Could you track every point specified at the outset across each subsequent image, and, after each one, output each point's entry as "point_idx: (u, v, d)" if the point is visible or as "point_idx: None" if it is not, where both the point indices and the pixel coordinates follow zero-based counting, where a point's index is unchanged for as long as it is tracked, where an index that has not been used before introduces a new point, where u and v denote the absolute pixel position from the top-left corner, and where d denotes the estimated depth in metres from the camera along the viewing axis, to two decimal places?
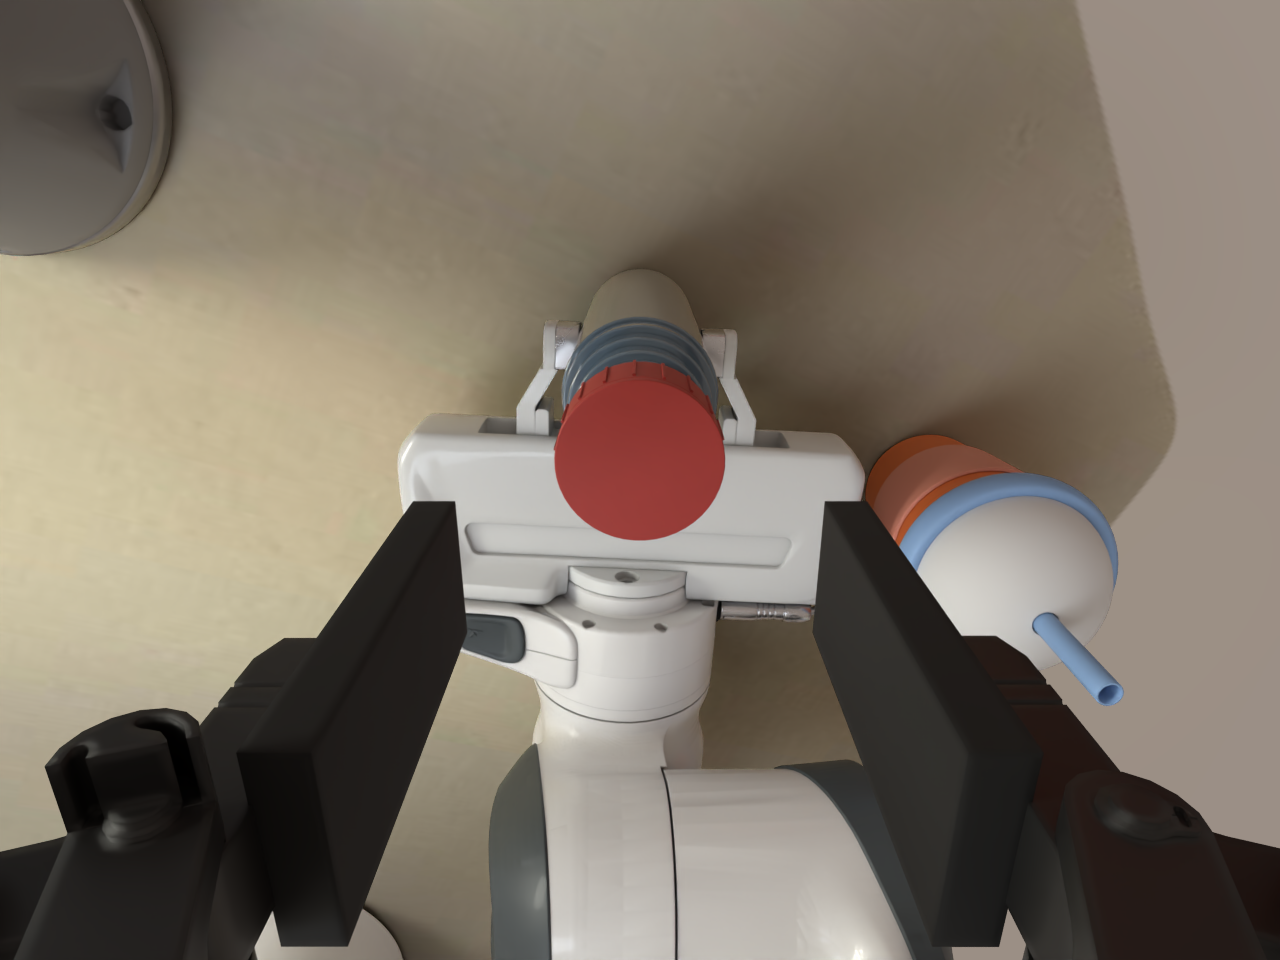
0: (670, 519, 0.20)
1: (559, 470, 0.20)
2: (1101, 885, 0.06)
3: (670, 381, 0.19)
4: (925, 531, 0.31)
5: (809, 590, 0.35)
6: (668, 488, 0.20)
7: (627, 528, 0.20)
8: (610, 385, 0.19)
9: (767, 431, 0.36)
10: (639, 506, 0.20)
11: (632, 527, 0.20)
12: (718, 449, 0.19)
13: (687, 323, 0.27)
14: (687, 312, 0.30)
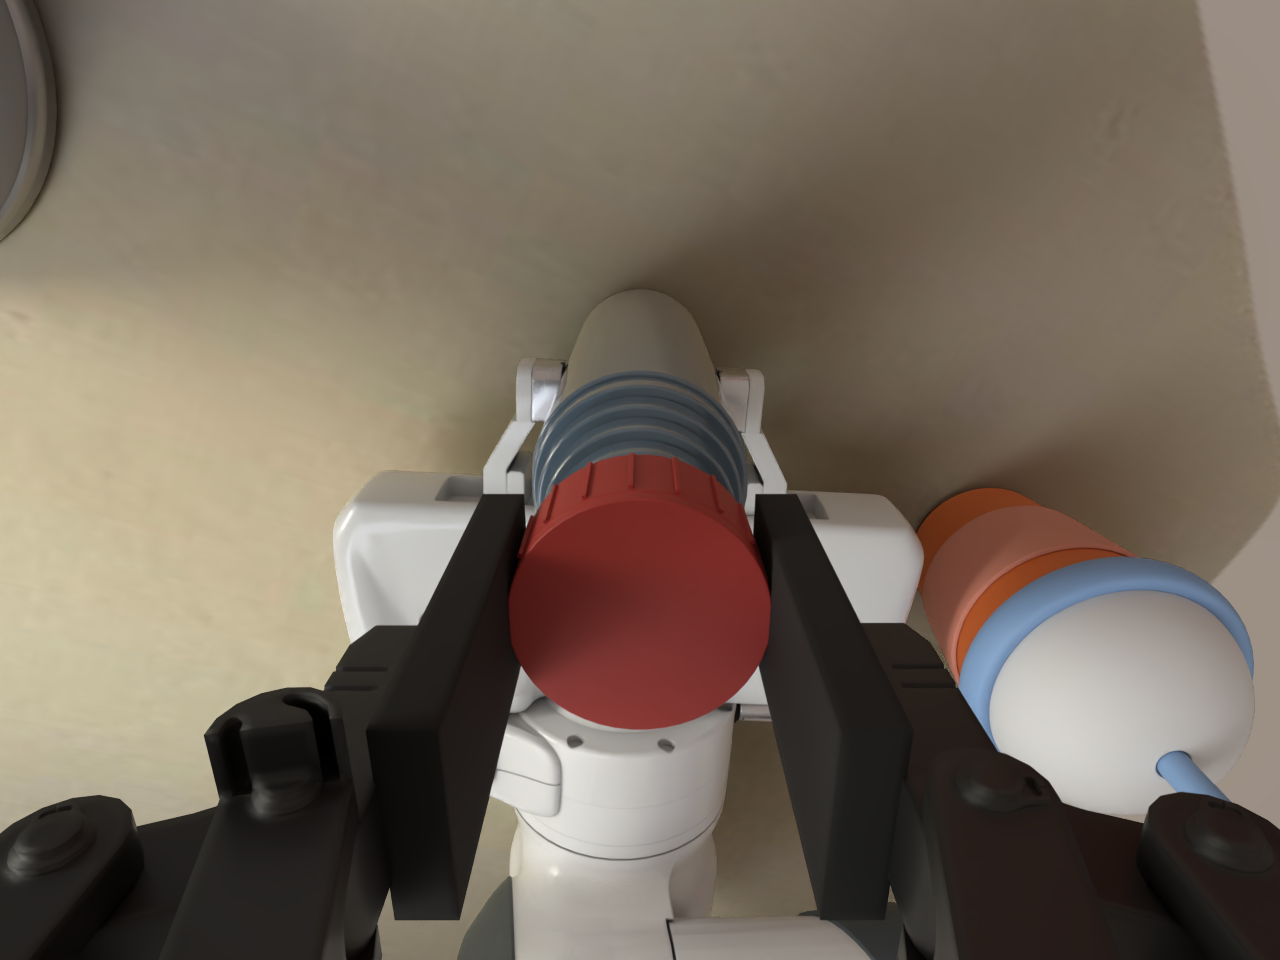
0: (686, 700, 0.13)
1: (515, 631, 0.13)
2: (959, 860, 0.07)
3: (687, 496, 0.12)
4: (1007, 633, 0.24)
5: None
6: (684, 656, 0.13)
7: (620, 712, 0.13)
8: (593, 506, 0.12)
9: (798, 493, 0.29)
10: (640, 682, 0.13)
11: (628, 711, 0.13)
12: (762, 601, 0.12)
13: (704, 373, 0.20)
14: (701, 352, 0.24)
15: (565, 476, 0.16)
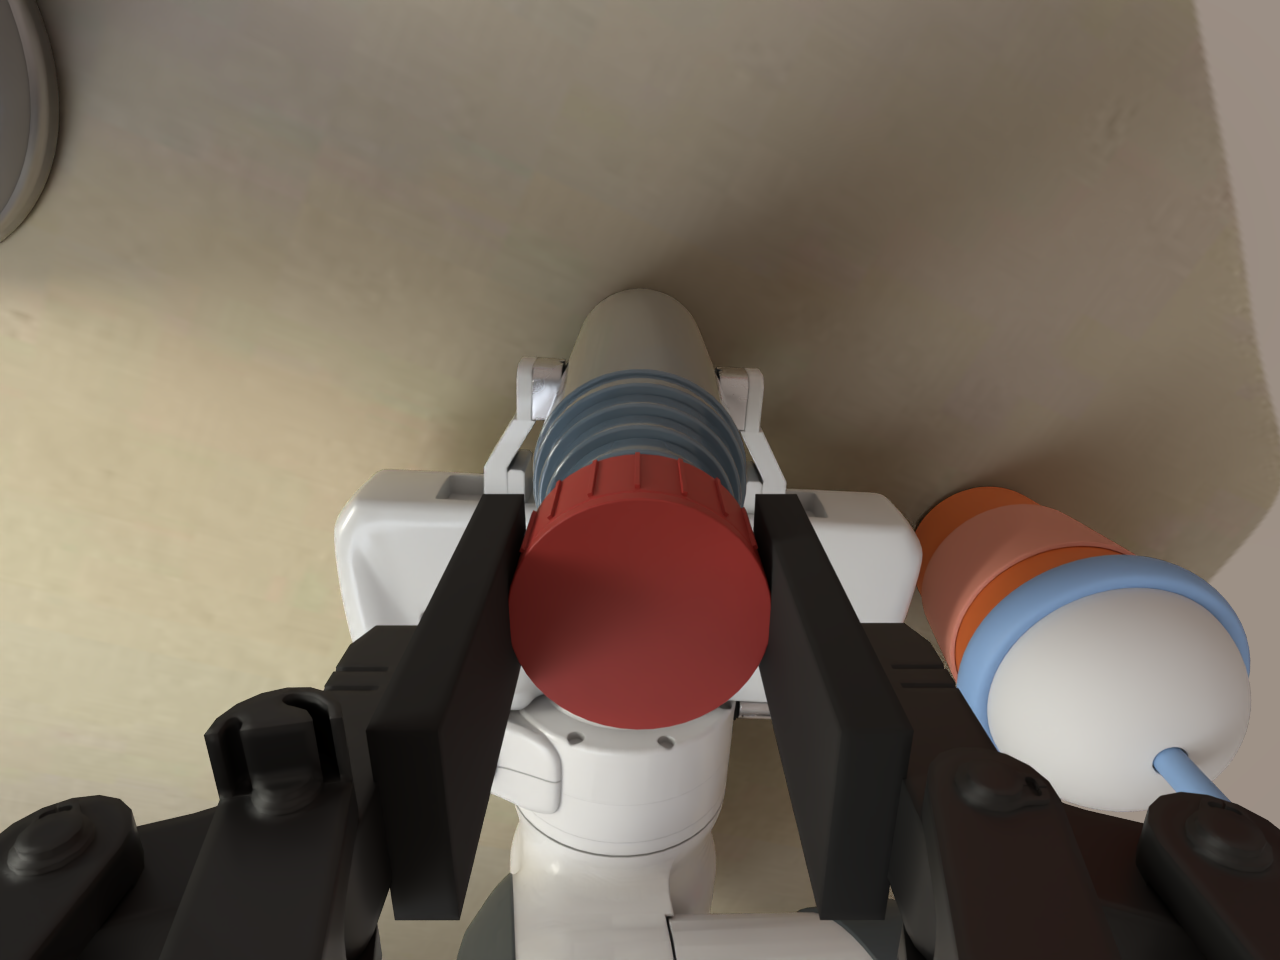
0: (669, 527, 0.12)
1: (735, 686, 0.13)
2: (959, 861, 0.07)
3: None
4: (1005, 630, 0.24)
5: None
6: (634, 567, 0.12)
7: (732, 560, 0.12)
8: (590, 719, 0.13)
9: (797, 491, 0.29)
10: (689, 574, 0.12)
11: (725, 556, 0.12)
12: (530, 565, 0.12)
13: (703, 372, 0.20)
14: (701, 351, 0.24)
15: (566, 473, 0.16)
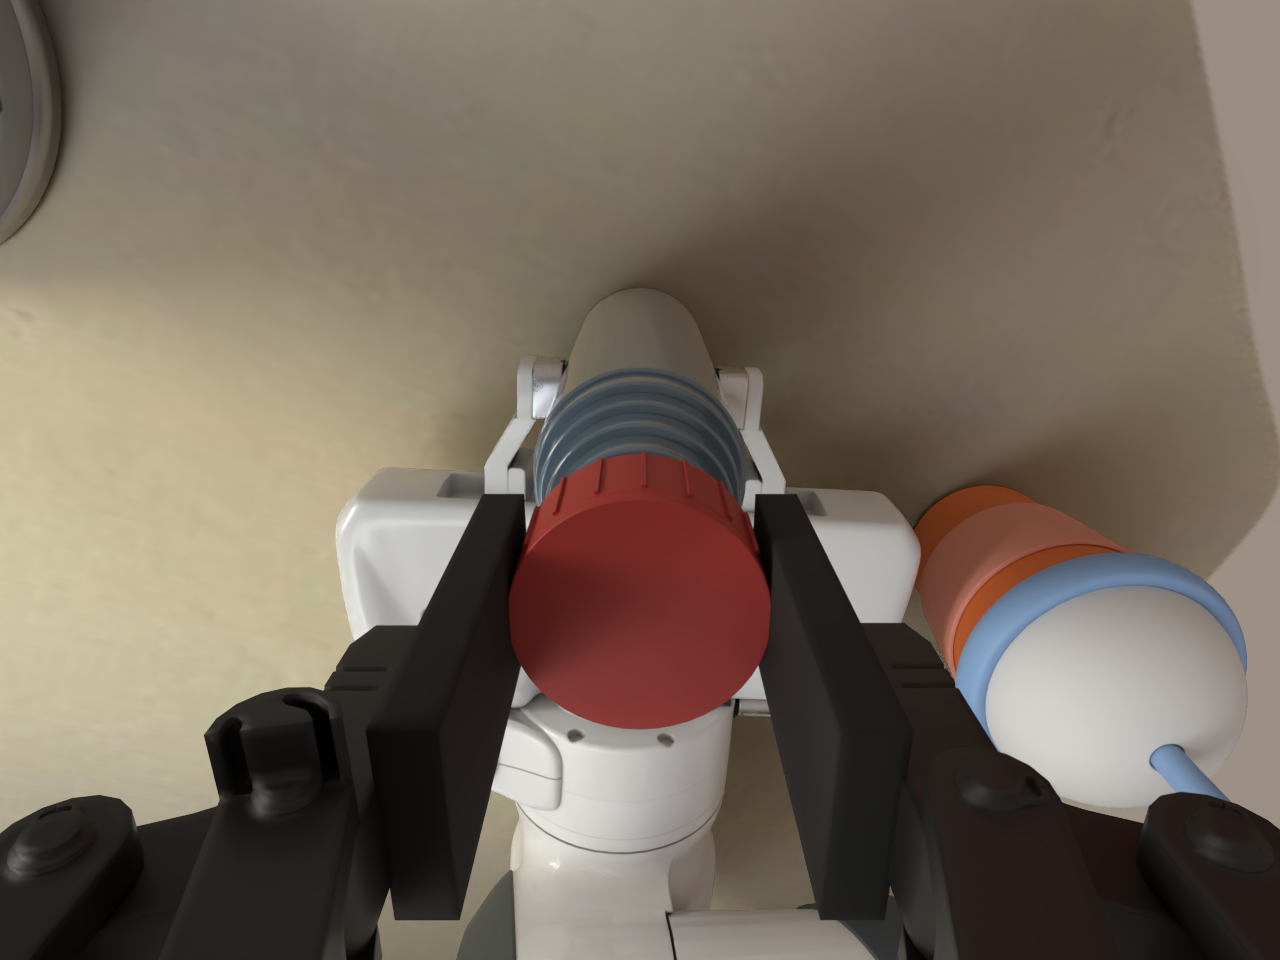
0: (551, 669, 0.13)
1: (617, 507, 0.12)
2: (959, 860, 0.07)
3: None
4: (1003, 628, 0.24)
5: None
6: (602, 662, 0.13)
7: (527, 611, 0.13)
8: (762, 572, 0.12)
9: (796, 490, 0.29)
10: (568, 625, 0.13)
11: (529, 618, 0.13)
12: (672, 720, 0.13)
13: (703, 371, 0.20)
14: (700, 349, 0.24)
15: (566, 471, 0.16)
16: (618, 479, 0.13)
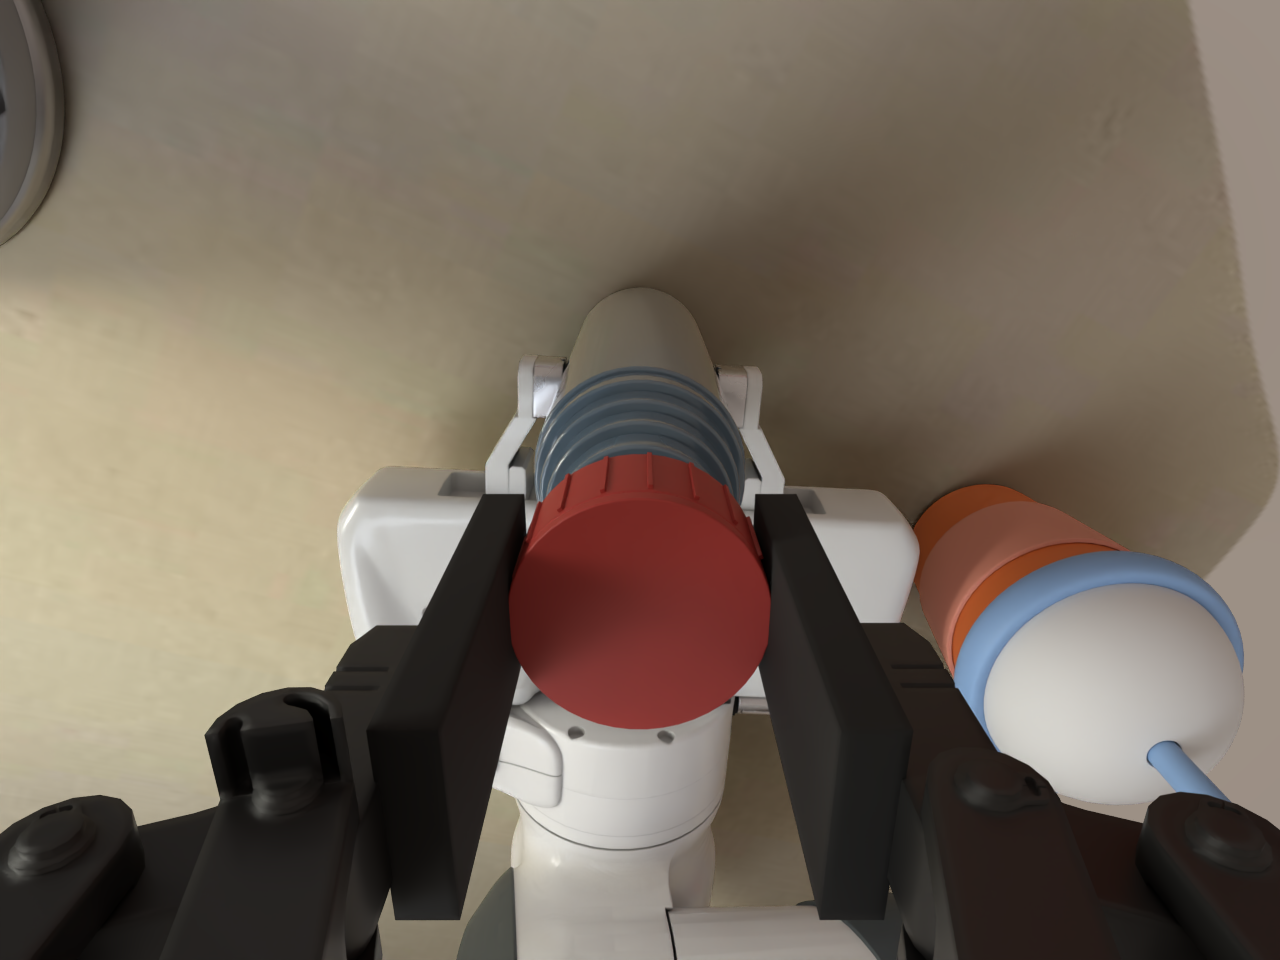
0: (743, 638, 0.13)
1: (574, 709, 0.13)
2: (958, 861, 0.07)
3: (569, 506, 0.12)
4: (1001, 625, 0.25)
5: None
6: (700, 612, 0.13)
7: (711, 691, 0.13)
8: (512, 583, 0.12)
9: (796, 488, 0.29)
10: (695, 659, 0.13)
11: (715, 685, 0.13)
12: (698, 521, 0.12)
13: (702, 369, 0.20)
14: (700, 348, 0.24)
15: (567, 468, 0.16)
16: None
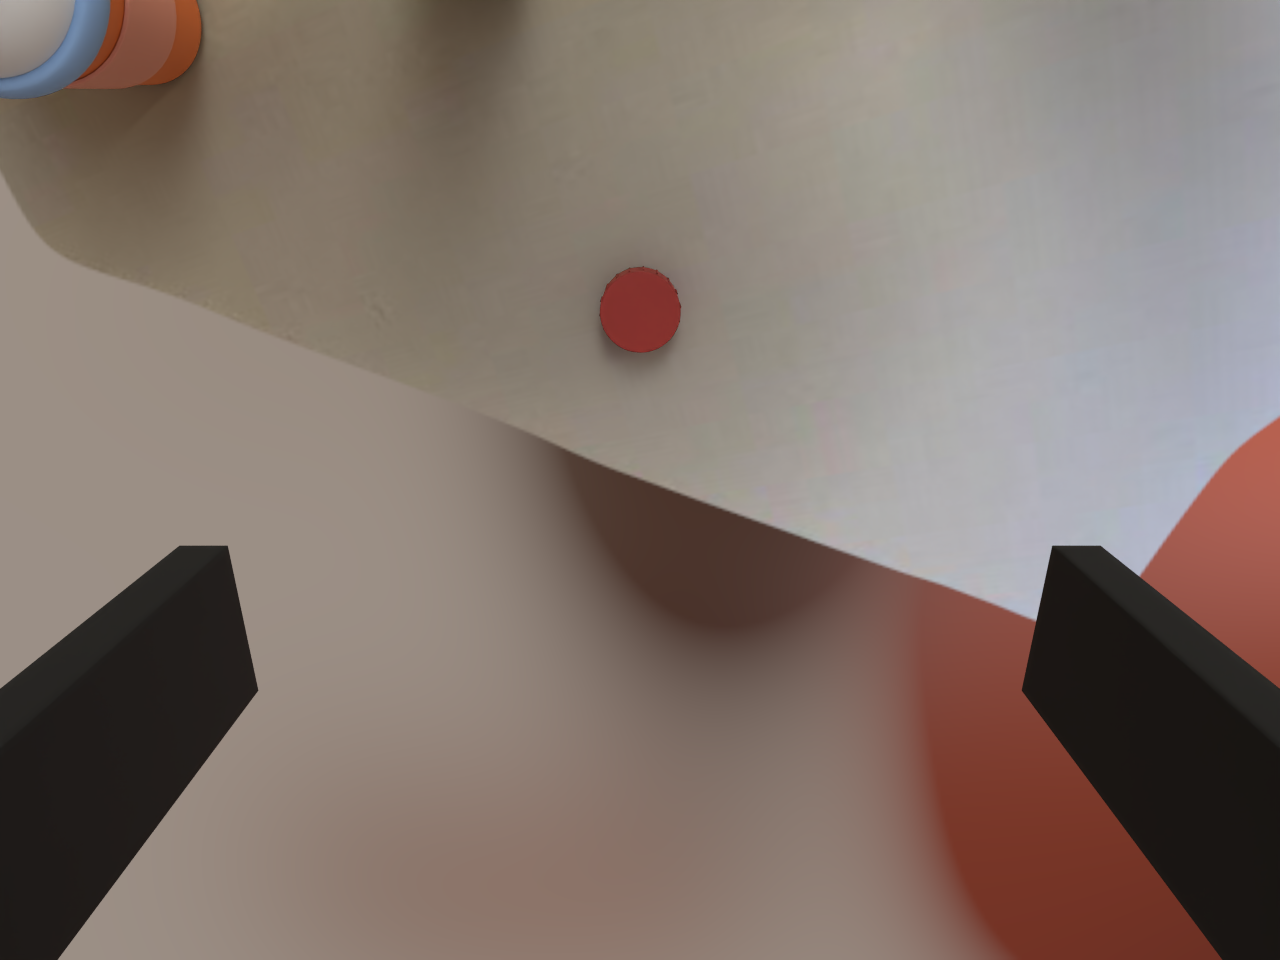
0: (671, 318, 0.42)
1: (619, 344, 0.42)
2: None
3: (619, 276, 0.41)
4: None
5: None
6: (658, 309, 0.42)
7: (662, 338, 0.42)
8: (602, 299, 0.41)
9: None
10: (657, 326, 0.42)
11: (663, 335, 0.42)
12: (657, 278, 0.41)
13: None
14: None
15: None
16: None
